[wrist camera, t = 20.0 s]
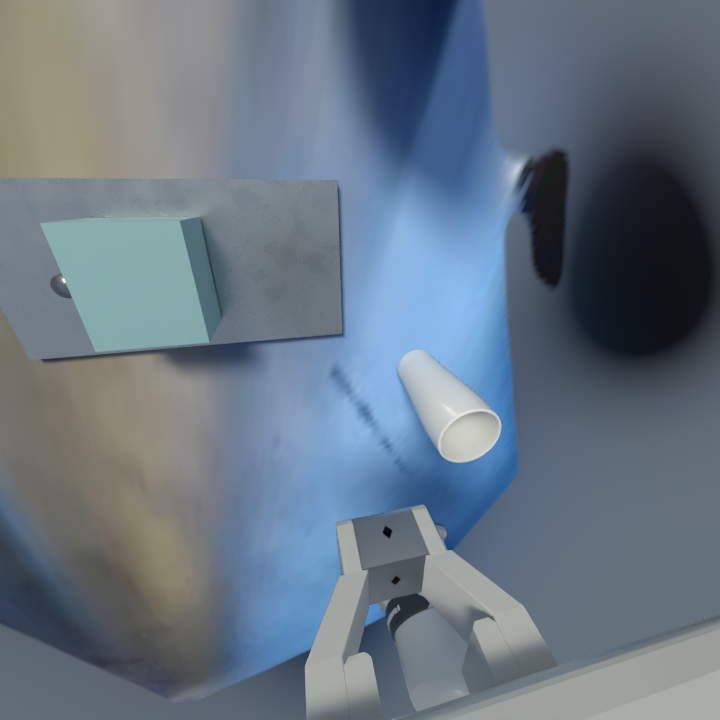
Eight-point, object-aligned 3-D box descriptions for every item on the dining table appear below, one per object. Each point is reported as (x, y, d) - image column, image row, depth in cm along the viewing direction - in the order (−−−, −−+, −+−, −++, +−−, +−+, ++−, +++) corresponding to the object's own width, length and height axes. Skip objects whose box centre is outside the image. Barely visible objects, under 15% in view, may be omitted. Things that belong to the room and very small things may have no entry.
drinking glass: (430, 387, 45) (488, 463, 32) (386, 385, 44) (429, 465, 31) (443, 344, 43) (513, 409, 30) (396, 340, 41) (449, 407, 28)
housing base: (341, 330, 38) (348, 347, 34) (36, 355, 33) (-2, 380, 28) (335, 180, 31) (344, 177, 27) (-59, 178, 25) (-130, 174, 21)
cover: (221, 319, 34) (209, 342, 28) (128, 325, 32) (95, 352, 26) (199, 216, 29) (179, 220, 24) (88, 217, 27) (39, 223, 22)
